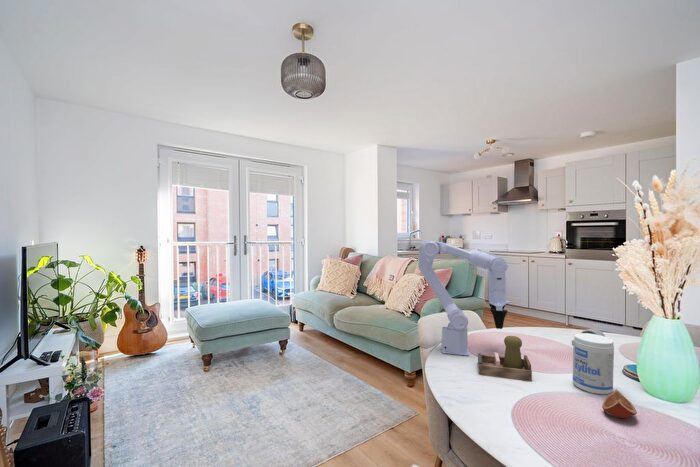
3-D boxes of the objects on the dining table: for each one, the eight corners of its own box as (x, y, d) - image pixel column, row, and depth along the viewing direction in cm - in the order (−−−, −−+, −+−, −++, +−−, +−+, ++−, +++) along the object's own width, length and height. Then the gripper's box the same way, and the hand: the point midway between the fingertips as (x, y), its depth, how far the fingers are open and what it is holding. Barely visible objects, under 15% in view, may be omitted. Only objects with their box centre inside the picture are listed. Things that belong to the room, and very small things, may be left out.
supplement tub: (570, 388, 97) (570, 338, 97) (574, 377, 104) (574, 330, 104) (613, 399, 91) (613, 345, 91) (614, 386, 98) (614, 336, 98)
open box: (479, 374, 107) (479, 360, 107) (478, 362, 116) (477, 349, 116) (531, 381, 102) (531, 366, 102) (526, 368, 111) (526, 354, 111)
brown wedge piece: (602, 404, 88) (602, 385, 88) (635, 412, 84) (635, 393, 84) (602, 418, 82) (602, 398, 82) (638, 428, 78) (638, 407, 78)
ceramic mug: (607, 348, 129) (606, 328, 129) (601, 353, 124) (601, 332, 124) (575, 342, 137) (575, 323, 137) (568, 346, 132) (568, 327, 132)
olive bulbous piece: (520, 367, 110) (520, 334, 110) (526, 375, 104) (526, 340, 104) (500, 366, 112) (500, 333, 111) (505, 374, 106) (505, 339, 105)
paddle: (496, 372, 106) (496, 360, 106) (494, 363, 113) (494, 352, 113) (499, 372, 106) (499, 361, 106) (497, 363, 113) (497, 352, 113)
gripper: (511, 293, 116) (512, 332, 116) (507, 286, 130) (508, 321, 130) (489, 292, 119) (490, 330, 119) (487, 285, 132) (488, 319, 132)
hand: (498, 325), depth 125 cm, fingers open, 7 cm apart
